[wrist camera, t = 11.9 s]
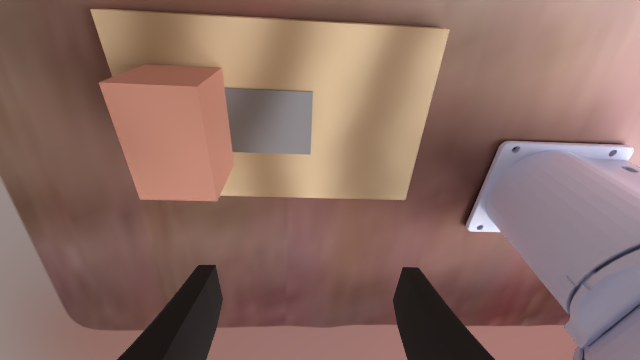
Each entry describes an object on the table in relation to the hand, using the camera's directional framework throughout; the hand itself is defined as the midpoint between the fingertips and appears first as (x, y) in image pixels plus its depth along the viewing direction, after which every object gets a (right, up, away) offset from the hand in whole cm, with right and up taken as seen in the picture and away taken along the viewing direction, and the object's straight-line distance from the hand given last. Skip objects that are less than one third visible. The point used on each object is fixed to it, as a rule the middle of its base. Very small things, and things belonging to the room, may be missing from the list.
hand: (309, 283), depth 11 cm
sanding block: (-7, +8, +6) cm, 12 cm away
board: (-2, +8, +7) cm, 11 cm away
